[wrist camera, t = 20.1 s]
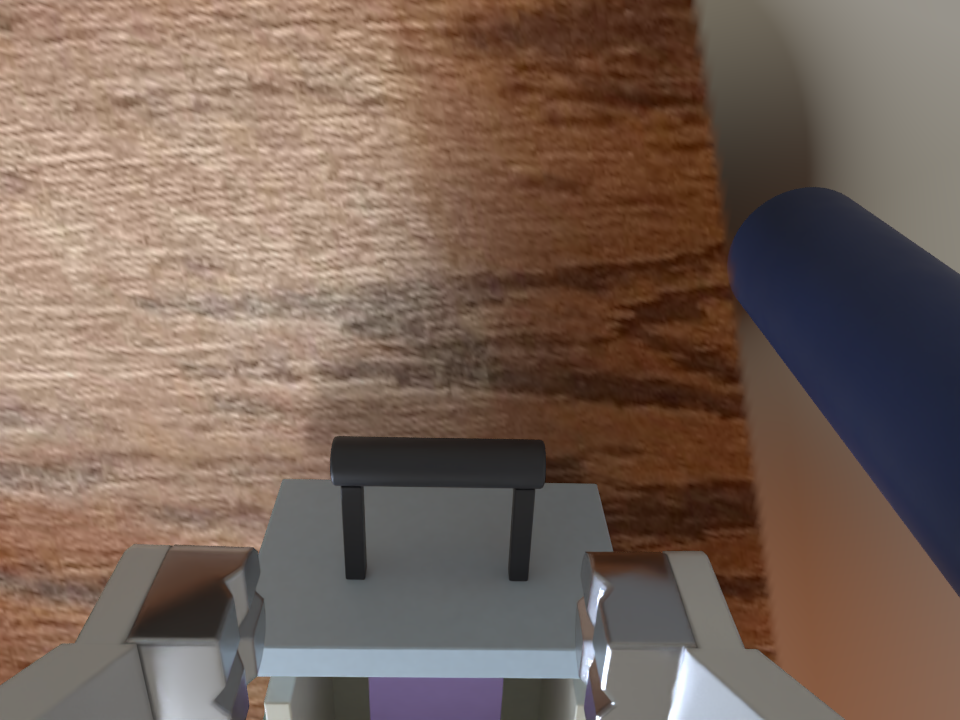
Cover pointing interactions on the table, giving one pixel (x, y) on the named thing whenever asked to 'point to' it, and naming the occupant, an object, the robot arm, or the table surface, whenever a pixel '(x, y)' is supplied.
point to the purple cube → (435, 698)
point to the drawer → (426, 576)
